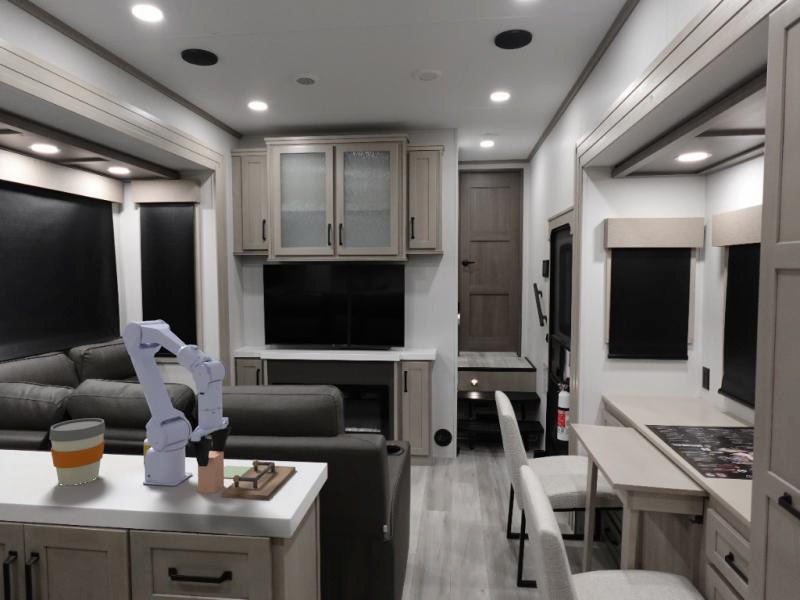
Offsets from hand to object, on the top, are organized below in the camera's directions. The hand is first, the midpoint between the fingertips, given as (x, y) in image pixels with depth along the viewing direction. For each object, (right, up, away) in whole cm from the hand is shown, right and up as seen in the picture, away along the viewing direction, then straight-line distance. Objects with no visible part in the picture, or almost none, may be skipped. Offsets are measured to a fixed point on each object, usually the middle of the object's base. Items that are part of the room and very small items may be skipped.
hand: (211, 460), depth 122 cm
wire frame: (+12, -7, +4) cm, 14 cm away
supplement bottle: (-24, -7, +18) cm, 31 cm away
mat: (+1, -7, +11) cm, 13 cm away
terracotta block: (0, -7, 0) cm, 7 cm away
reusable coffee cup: (-39, -8, +7) cm, 40 cm away
